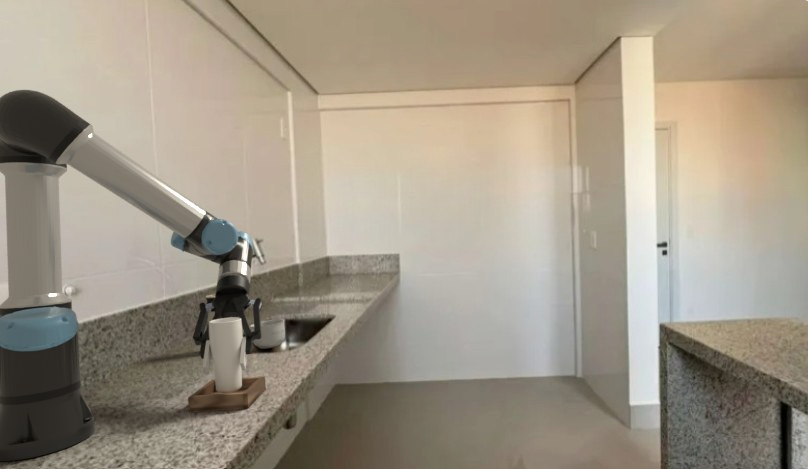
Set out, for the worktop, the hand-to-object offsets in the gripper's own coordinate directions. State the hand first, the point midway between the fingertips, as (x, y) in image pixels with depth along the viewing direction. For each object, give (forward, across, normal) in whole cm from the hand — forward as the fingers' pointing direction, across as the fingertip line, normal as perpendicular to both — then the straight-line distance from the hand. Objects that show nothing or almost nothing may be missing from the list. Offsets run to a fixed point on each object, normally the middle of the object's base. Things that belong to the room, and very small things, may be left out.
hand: (224, 368), depth 98 cm
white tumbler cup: (+1, 0, -6) cm, 7 cm away
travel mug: (-36, +13, -47) cm, 60 cm away
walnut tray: (+3, 0, -8) cm, 8 cm away
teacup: (-36, -3, -47) cm, 59 cm away
